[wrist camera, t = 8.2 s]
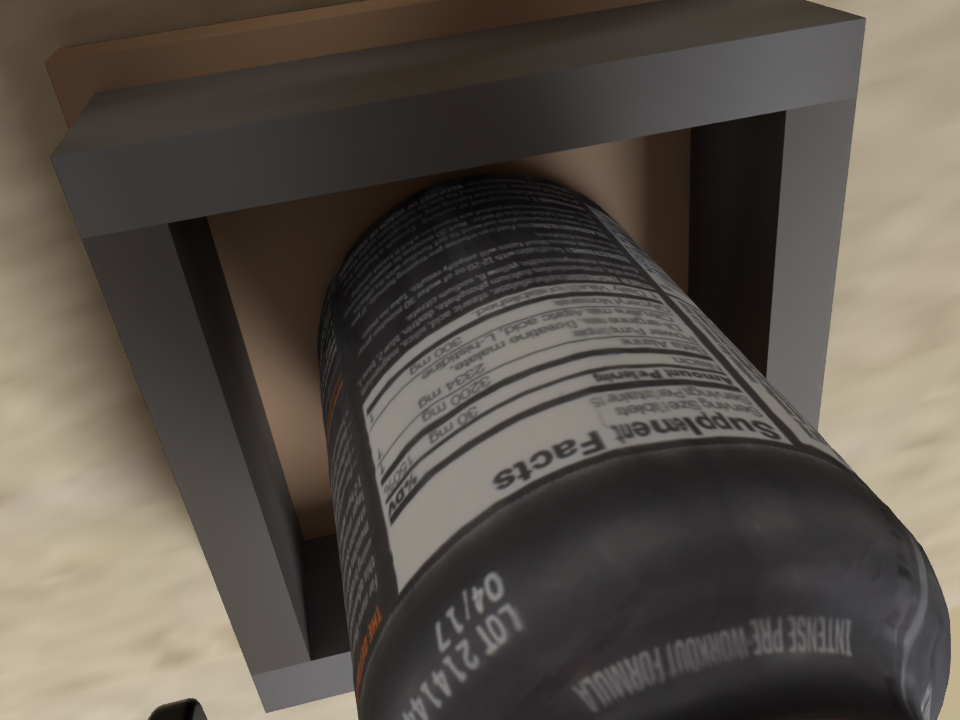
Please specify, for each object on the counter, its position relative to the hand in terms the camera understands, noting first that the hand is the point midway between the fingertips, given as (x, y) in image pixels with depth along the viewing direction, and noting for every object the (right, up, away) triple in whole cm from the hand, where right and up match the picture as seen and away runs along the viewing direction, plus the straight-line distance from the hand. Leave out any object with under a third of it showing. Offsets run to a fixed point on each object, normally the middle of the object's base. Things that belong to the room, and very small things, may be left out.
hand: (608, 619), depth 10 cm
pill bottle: (-1, +4, +6) cm, 7 cm away
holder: (-2, +4, +7) cm, 8 cm away
